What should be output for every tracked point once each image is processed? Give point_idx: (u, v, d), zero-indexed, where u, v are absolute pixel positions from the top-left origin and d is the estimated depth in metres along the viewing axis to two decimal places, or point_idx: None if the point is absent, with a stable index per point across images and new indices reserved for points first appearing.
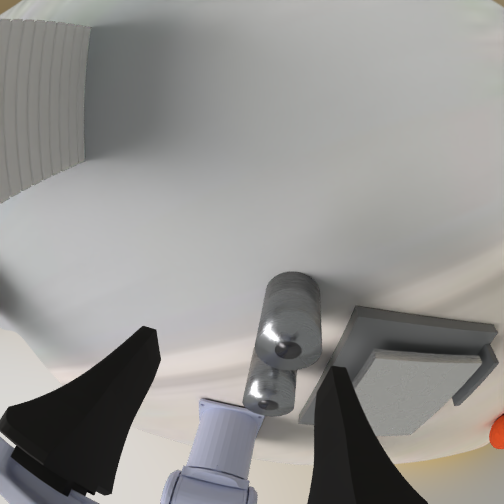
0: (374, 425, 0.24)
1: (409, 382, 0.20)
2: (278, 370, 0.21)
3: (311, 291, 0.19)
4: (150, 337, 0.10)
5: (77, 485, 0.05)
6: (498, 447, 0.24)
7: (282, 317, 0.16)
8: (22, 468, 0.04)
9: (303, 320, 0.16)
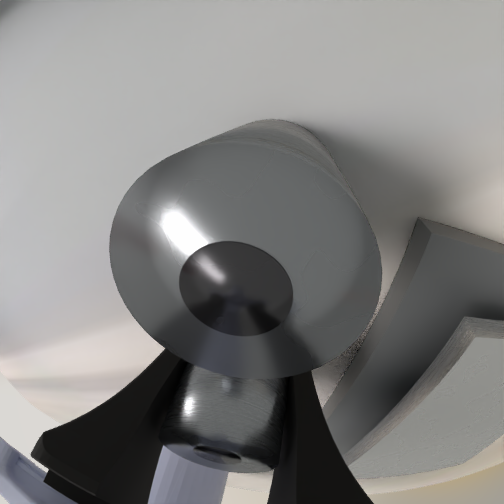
0: (421, 461, 0.11)
1: None
2: None
3: (316, 141, 0.06)
4: None
5: None
6: None
7: (204, 141, 0.04)
8: (22, 468, 0.04)
9: (292, 146, 0.04)
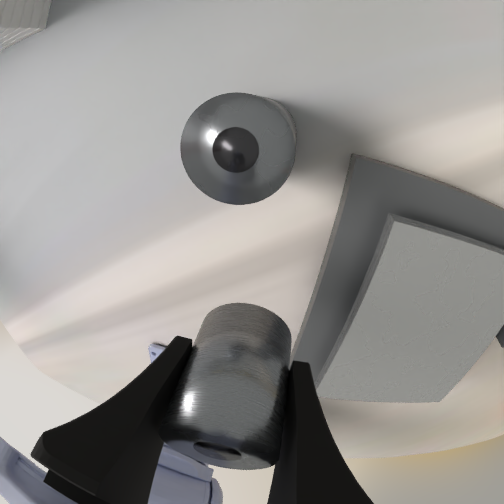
0: (394, 381, 0.17)
1: (447, 287, 0.13)
2: (240, 372, 0.08)
3: (279, 105, 0.12)
4: (187, 348, 0.10)
5: None
6: None
7: None
8: (22, 468, 0.04)
9: (258, 96, 0.09)
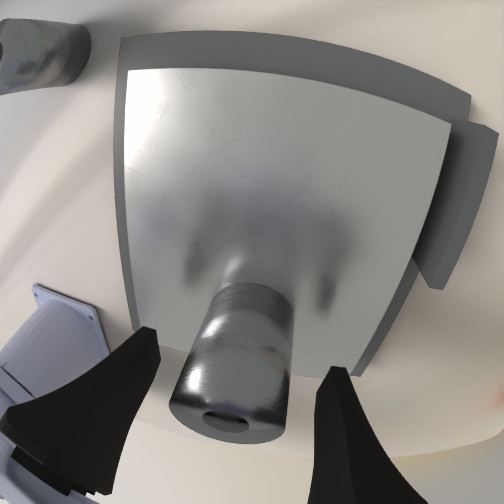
0: None
1: (242, 149, 0.09)
2: (243, 341, 0.09)
3: (63, 23, 0.08)
4: (150, 338, 0.10)
5: (77, 485, 0.05)
6: None
7: None
8: (22, 468, 0.04)
9: (16, 19, 0.06)
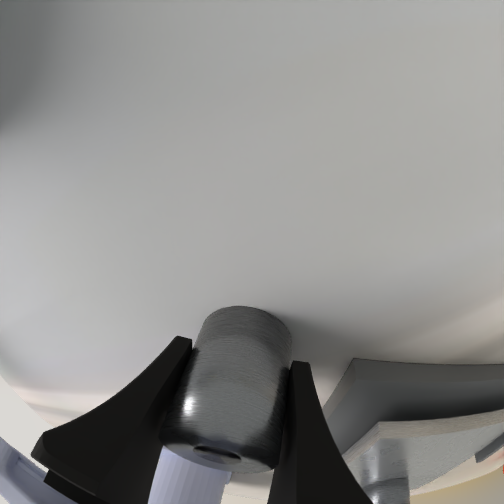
0: None
1: (425, 453, 0.11)
2: None
3: (270, 346, 0.10)
4: (187, 348, 0.10)
5: None
6: None
7: (198, 407, 0.07)
8: (22, 468, 0.04)
9: (239, 417, 0.07)
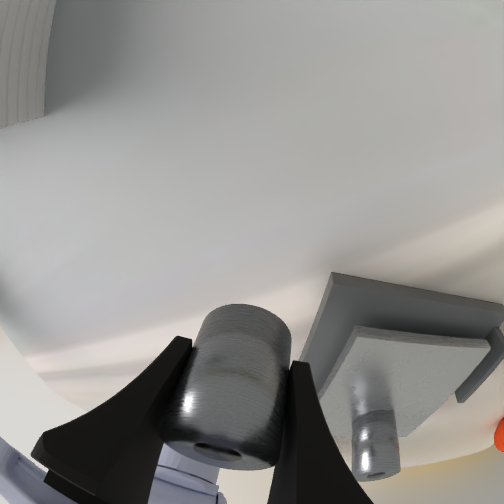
0: None
1: (402, 371, 0.16)
2: (387, 444, 0.16)
3: (270, 343, 0.10)
4: (187, 348, 0.10)
5: None
6: None
7: (198, 404, 0.07)
8: (22, 468, 0.04)
9: (239, 413, 0.07)
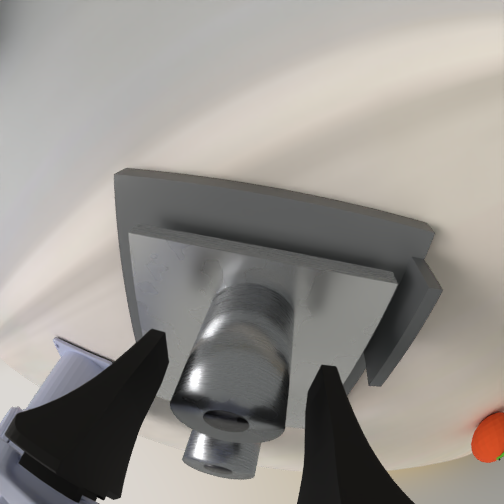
0: None
1: None
2: None
3: (272, 316, 0.11)
4: (160, 340, 0.10)
5: (88, 491, 0.05)
6: (483, 460, 0.17)
7: (206, 370, 0.08)
8: (22, 468, 0.04)
9: (244, 377, 0.08)
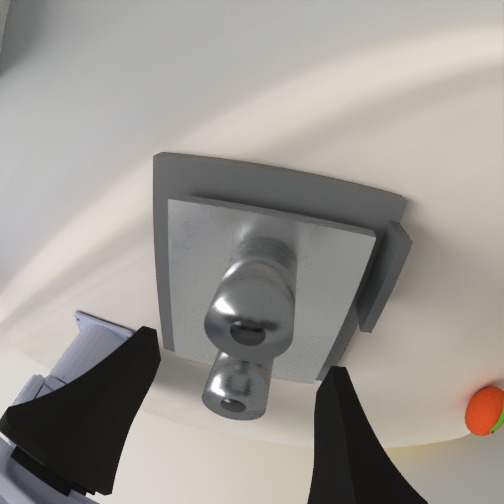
0: None
1: None
2: (245, 362, 0.17)
3: (281, 257, 0.15)
4: (150, 337, 0.10)
5: (77, 485, 0.05)
6: (477, 432, 0.21)
7: (235, 287, 0.12)
8: (22, 468, 0.04)
9: (263, 290, 0.12)
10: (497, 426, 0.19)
